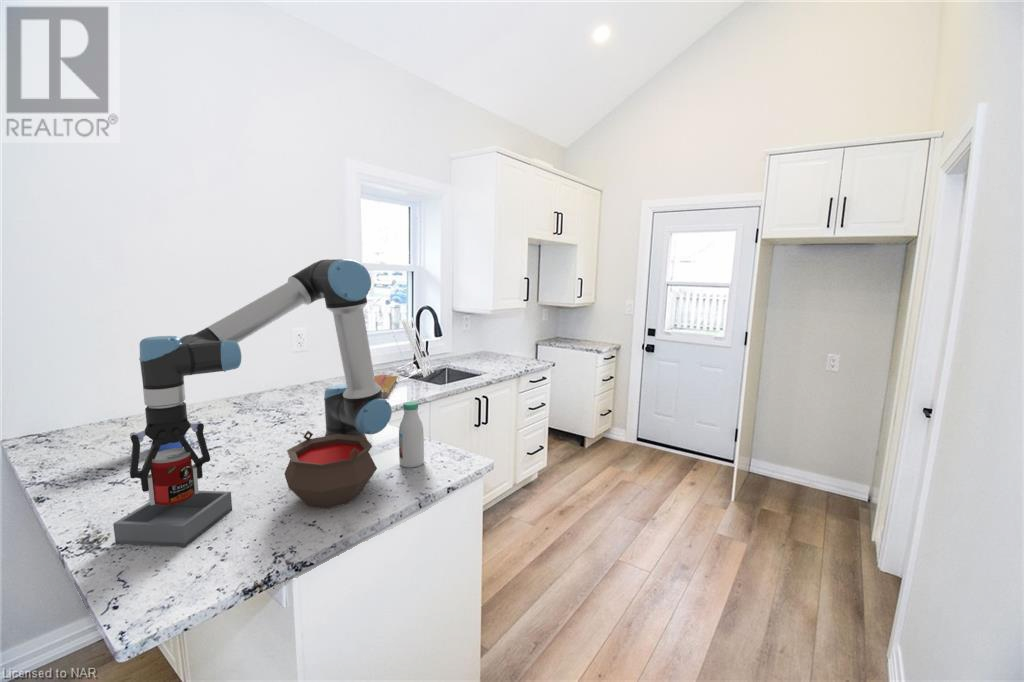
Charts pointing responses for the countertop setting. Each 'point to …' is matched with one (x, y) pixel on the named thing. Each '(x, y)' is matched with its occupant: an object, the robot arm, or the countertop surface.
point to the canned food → (172, 476)
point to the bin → (173, 520)
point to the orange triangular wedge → (386, 383)
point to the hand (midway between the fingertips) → (174, 497)
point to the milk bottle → (411, 437)
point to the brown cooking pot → (329, 469)
